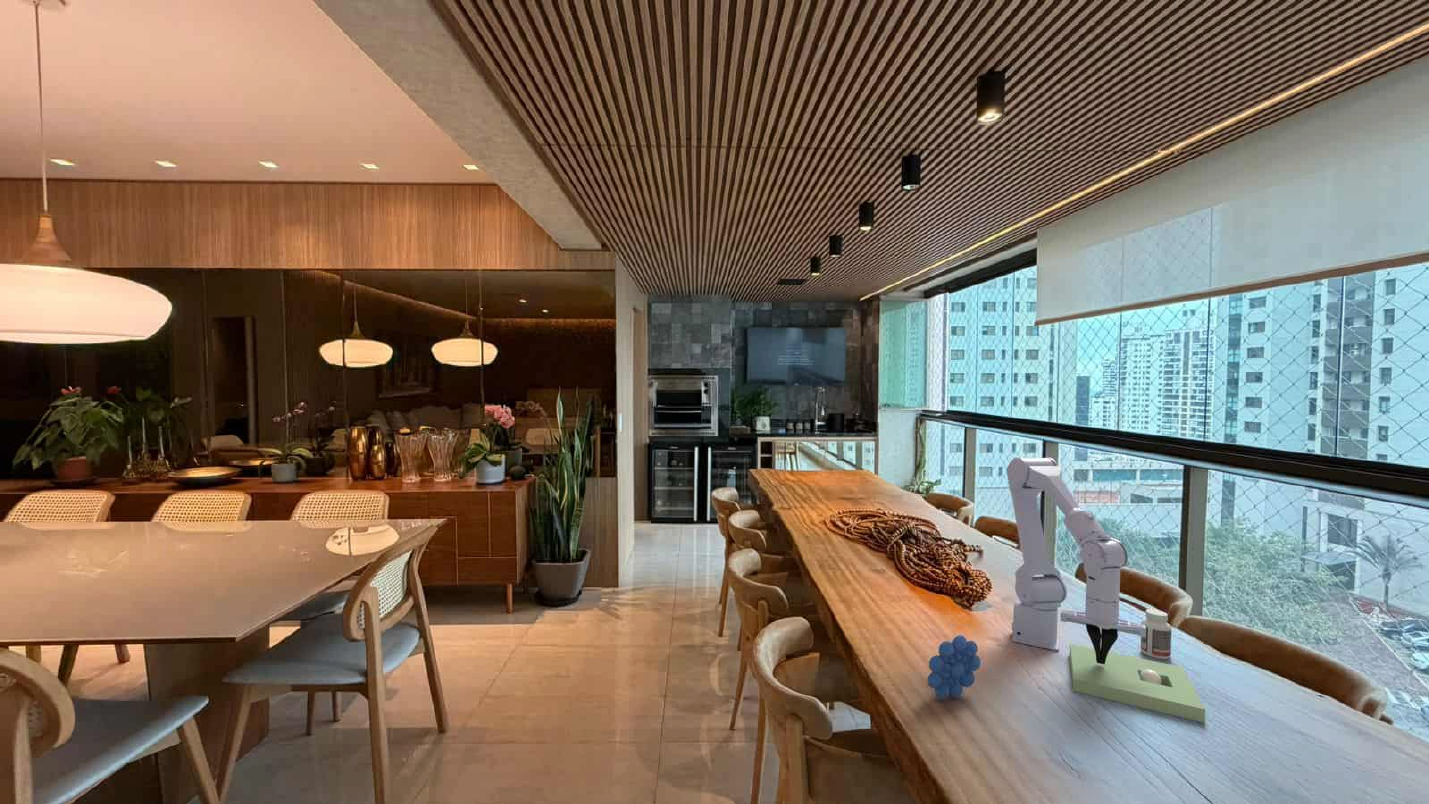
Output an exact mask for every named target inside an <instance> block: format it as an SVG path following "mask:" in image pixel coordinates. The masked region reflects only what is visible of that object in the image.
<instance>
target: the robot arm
mask: <svg viewBox="0 0 1429 804" xmlns="http://www.w3.org/2000/svg"><path fill="white" fill-rule="evenodd" d="M1062 471H1063V470H1062V468H1061V467H1060V466H1059V465H1058V463H1057V461H1056V460H1055V459H1053V458H1052V457H1032V458H1031V457H1027V458H1026V457H1024V458H1023V457H1014V458H1012V459H1011V460H1010V462H1009V463H1008V465H1007V467H1006V468H1005V472H1006V477H1007V480H1008V482H1007V483H1008V488H1009V491H1010V494H1011V501H1012V506H1013V511H1014V517H1015V521H1016V522H1015V523H1016V527H1017V533H1018V539H1019V543H1020V549H1021V550H1020V551H1021V555H1022V560H1023V564H1021V566H1020V567H1019V568H1018V569H1017V570H1016V571H1015V572H1014V575H1015V585H1014V591H1015V594H1016V597H1018V600H1017V599H1014V600H1013V613H1012V614H1013V616H1012V617H1013V619H1012V622H1011V631H1012V642H1016V643H1019V644H1024V645H1029V646H1033V647H1037V648H1042V649H1048V650H1052V651H1056V652H1059V651H1060V641H1059V636H1058V615H1059V614H1058V612H1059V609H1058V608H1061V607H1062V603H1063V602H1065V600H1066V599H1067V595H1068V589H1067V586H1066V584H1065V583H1064V580H1063V579H1062V576H1061V571H1060V570H1059V569H1058V568H1057V567H1056V566H1054V565H1053V564H1051V563H1050V559H1049V555H1048V550H1047V546H1046V540H1045V535H1044V530H1043V525H1042V519H1041V514H1040V510H1039V505H1038V501H1037V500H1038V499H1037V497H1038V496H1039V494H1040V493H1041V492H1043V491H1044V492H1045V493H1046V495H1047V496H1048V497H1049V498H1050V499H1051V501H1052V502H1053V503H1054V504H1055V505H1056V507H1057V508H1058V509H1059V510H1060V511H1061V513H1062V514H1063V515H1064V518H1063V525H1064V526H1065V527H1066V529H1067V530H1068V531H1069V534H1071V536H1072V537H1073V539H1074V540H1075V541H1076V543H1077V544H1078V546H1079V547H1080V549H1081V550H1079V556H1080V557H1079V558H1080V559H1081V561H1082V564H1083V571H1084V573H1085V575H1086V582H1085V583H1086V584H1085V608H1084V609H1085V611H1078V610H1077V611H1075V610H1065V609H1060V616H1059V617H1060V622H1061V623H1062V622H1063V623H1067V622H1070V623H1073V624H1080V625H1083V626H1085V629H1086V632H1087V634H1088V637H1089V638H1090V641H1091V643H1092V646H1093V649H1095V653H1096V662H1097V663H1099V664H1104V665H1105V661H1106V657H1107V655H1108V652H1110V650H1111V648H1112V647H1113V645H1114V644H1115V643H1116V641H1117V640H1118V638H1119V634H1118V633H1119V632H1120V633H1126V634H1131V635H1137V636H1139V637H1140V638H1141V637H1146V627H1145V625H1142V624H1141V623H1137V622H1133V621H1131V620H1130V621H1129V620H1126V619H1122V618H1119V616H1120V615H1119V614H1120V613H1119V611H1120V593H1121V591H1120V587H1121V585H1120V584H1121V568H1124V567H1125V566H1127V564H1128V561H1129V555H1128V550H1127V548H1126V546H1124V543H1123V542H1121V541H1120V540H1118V539H1115V538H1113V537H1112V536H1111V535H1108V534H1107V532H1106V531H1105V530H1104V528H1103V527H1102V526H1101V525H1100V524H1099V523H1098V522H1099V521H1097V520H1096V516H1095V515H1094V514H1093V513H1092V512H1090V511H1089V510H1086V509H1082V508H1081V507H1080V506H1079V504H1078V502H1077V501H1076V499H1075V498H1074V496H1073V495H1072V493H1071V491H1070V490H1069V488H1068V486H1067V485H1066V484H1065V482H1064V481H1063V478H1062V473H1063V472H1062ZM1041 575H1042V576H1041Z"/></svg>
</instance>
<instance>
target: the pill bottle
mask: <svg viewBox="0 0 1429 804" xmlns="http://www.w3.org/2000/svg"><path fill="white" fill-rule="evenodd" d="M1168 616H1169V615H1168V613H1166V612H1164V611H1162V610H1159V609H1153V608H1152V609H1151V608H1150V609H1149V608H1148V609H1146V610H1145V618H1143V619H1142V620H1141V623H1140V624H1142V625H1145V627H1146V637H1140V651H1141V652H1142V654H1144V655H1146V656H1147V657H1151V658H1155V659H1158V660H1169V659H1170V658H1171V653H1172V650H1171V649H1172V627H1171V624H1169V623H1168V620H1169V618H1168Z"/></svg>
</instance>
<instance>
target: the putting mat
mask: <svg viewBox="0 0 1429 804" xmlns="http://www.w3.org/2000/svg"><path fill="white" fill-rule="evenodd" d="M1069 660H1070V670H1071V678H1072V679H1071V680H1072V688H1073V691H1074V692H1076V693H1081V694H1086V695H1089V696H1094V697H1098V698H1101V699H1107V700H1110V701H1112V702H1113V701H1114V702H1117V703H1118V702H1119V703H1122V704H1126V705H1130V706H1134V707H1137V708H1138V707H1139V708H1142V709H1146V710H1150V711H1154V712H1159V713H1162V714H1165V715H1166V714H1167V715H1170V716H1174V717H1178V718H1183V719H1187V720H1191V721H1194V722H1200V723H1203V724H1205V723H1206V708H1205V706H1204V705H1203V703H1202V700H1201V698H1200V697H1199V695H1198V693H1197V691H1196V689H1195V687H1194V685H1193V684H1192V681H1191V680H1190V677H1189V676H1188V673H1187V672H1186V670H1185V668H1184V667H1183V666H1179V665H1174V664H1170V663H1165V662H1164V663H1163V662H1159V661H1154V660H1149V659H1145V658H1141V657H1136V656H1132V655H1125V654H1122V653H1116V652H1112V651H1109V652H1108V655H1107V657H1106V661H1105V665H1104V664H1099V663H1097V662H1096V653H1095V649H1094V647H1093V648H1092V647H1087V646H1082V645H1079V644H1078V645H1077V644H1074V643H1069ZM1147 669H1148V670H1153V671H1155V672H1156V673H1157V674H1158V675H1159V676H1160V678H1161V681H1162V683H1161V685H1159V684H1155V683H1151V682H1146V681H1142V680H1141V679H1140V673H1141V672H1142V671H1143V670H1147Z"/></svg>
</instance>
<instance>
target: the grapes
mask: <svg viewBox="0 0 1429 804" xmlns="http://www.w3.org/2000/svg"><path fill="white" fill-rule="evenodd" d="M977 653H978V645H977V642H975V641H973V640H967V638H966V637H965V636H964V635H957V636H955V637H954V638H953V639H952V641H948V640H945V641H943V642H941V643H940V644H939V647H938V654H937V655H934V656H932V657H931V658H930V659H929V662H928V667H929V670H930V671H931V672H930V673H929V674H928V676H927V680H926V683H927V685H928V687H930V689H934V694H935V696H936V697H937V698H938V699H946V698H948V696H949V697H950V696H951V697H950V698H952V697H954V698H953V699H957V698H959V697H960V696H961V695H962V694H963V690H964V688H969V687H971V686H973V685H974V684H975V680H976V678H975V677H976V676H975V674H974V672H976V671H978V669H979V668H981V667H980V666H981V659H980V657H979V656H978V655H977Z"/></svg>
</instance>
